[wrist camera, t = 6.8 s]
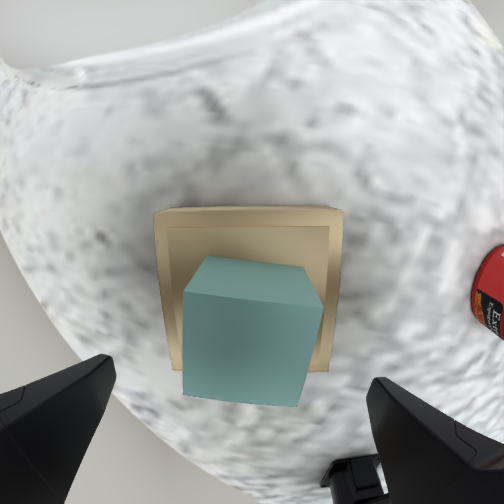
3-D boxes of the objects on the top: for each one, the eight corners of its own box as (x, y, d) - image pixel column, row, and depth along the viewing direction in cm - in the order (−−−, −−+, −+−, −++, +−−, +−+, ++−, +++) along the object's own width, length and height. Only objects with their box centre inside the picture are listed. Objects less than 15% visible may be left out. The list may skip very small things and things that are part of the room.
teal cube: (287, 347, 16) (296, 406, 11) (202, 338, 16) (183, 394, 11) (303, 267, 15) (324, 307, 10) (207, 255, 15) (183, 291, 10)
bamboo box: (317, 339, 20) (329, 372, 16) (186, 339, 21) (172, 372, 16) (325, 205, 18) (344, 211, 14) (174, 206, 18) (151, 213, 14)
